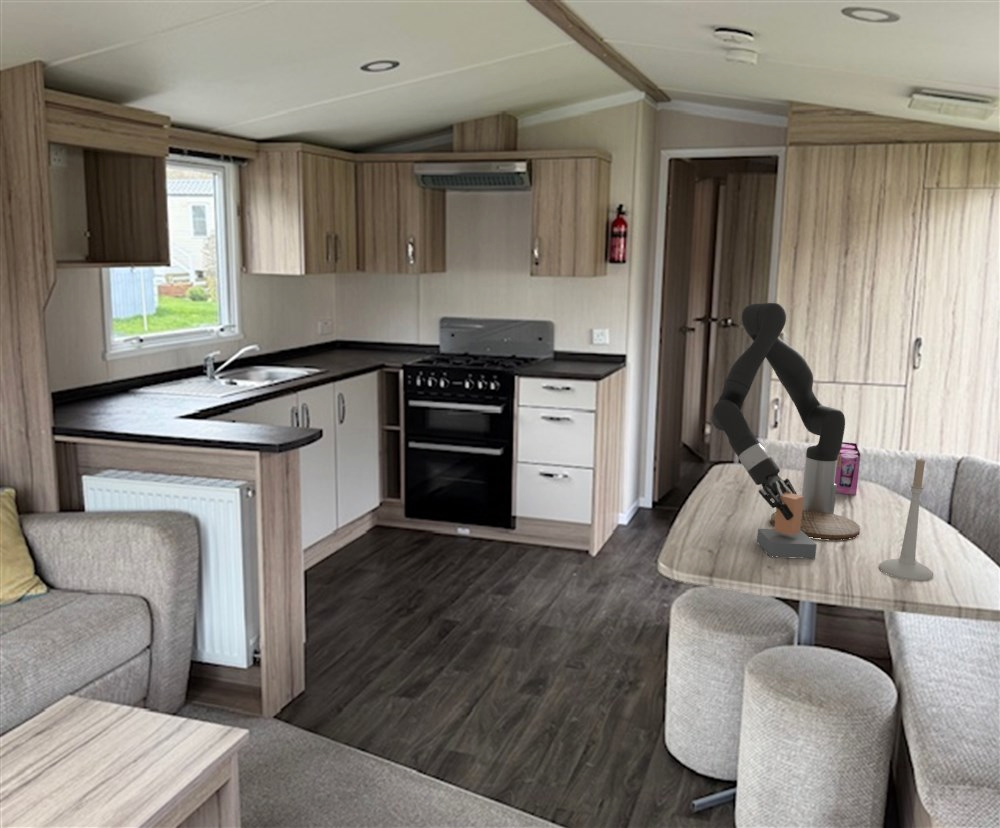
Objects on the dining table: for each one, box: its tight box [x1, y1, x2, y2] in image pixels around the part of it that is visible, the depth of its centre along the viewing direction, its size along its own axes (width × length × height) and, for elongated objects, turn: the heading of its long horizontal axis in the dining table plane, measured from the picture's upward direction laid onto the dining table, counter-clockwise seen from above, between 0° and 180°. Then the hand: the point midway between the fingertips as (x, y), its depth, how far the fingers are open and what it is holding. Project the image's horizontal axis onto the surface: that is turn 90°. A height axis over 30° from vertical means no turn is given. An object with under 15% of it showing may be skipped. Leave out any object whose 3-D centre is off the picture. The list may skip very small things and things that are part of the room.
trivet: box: [770, 510, 861, 541], centre depth 268 cm, size 25×25×2 cm
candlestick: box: [878, 458, 934, 582], centre depth 230 cm, size 13×13×30 cm
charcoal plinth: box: [756, 528, 818, 559], centre depth 245 cm, size 12×12×4 cm
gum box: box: [835, 441, 861, 496], centre depth 315 cm, size 24×8×14 cm, turn 162°
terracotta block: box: [773, 492, 804, 536], centre depth 243 cm, size 5×5×10 cm
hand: (795, 516), depth 242 cm, fingers closed on terracotta block, 5 cm apart
